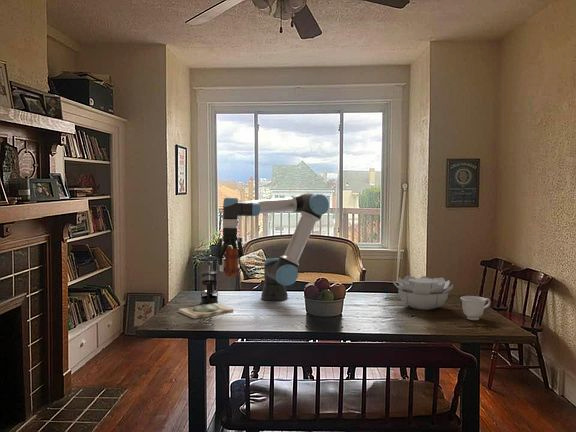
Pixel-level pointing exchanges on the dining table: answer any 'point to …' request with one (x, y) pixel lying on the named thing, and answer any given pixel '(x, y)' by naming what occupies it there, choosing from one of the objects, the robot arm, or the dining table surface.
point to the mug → (231, 262)
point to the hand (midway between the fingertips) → (229, 270)
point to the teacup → (474, 306)
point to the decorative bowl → (423, 291)
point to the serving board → (205, 310)
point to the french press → (209, 287)
